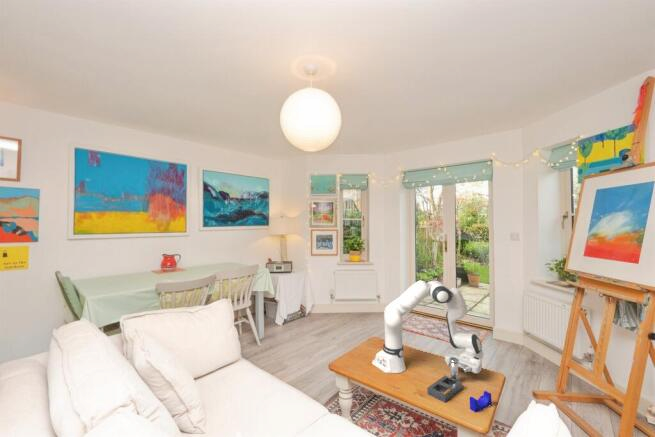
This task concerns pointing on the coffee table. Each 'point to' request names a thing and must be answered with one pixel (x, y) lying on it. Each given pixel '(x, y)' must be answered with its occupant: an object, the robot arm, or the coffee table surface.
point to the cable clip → (480, 402)
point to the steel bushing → (454, 368)
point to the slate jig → (444, 388)
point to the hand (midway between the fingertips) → (456, 367)
